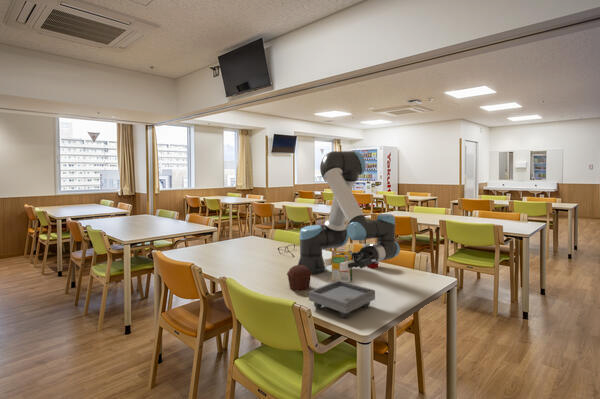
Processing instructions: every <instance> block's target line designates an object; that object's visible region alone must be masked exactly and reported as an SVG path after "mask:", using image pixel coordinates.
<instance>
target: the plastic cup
mask: <svg viewBox="0 0 600 399" xmlns="http://www.w3.org/2000/svg"><path fill="white" fill-rule="evenodd" d="M373 244H374V243H363V244H362V247H365V246H369V245H373ZM366 267H367V268H369V269H377V268H378V267H379V262H377V263H375V264H370V265H368V266H366Z"/></svg>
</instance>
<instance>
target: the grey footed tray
mask: <svg viewBox="0 0 600 399" xmlns="http://www.w3.org/2000/svg"><path fill="white" fill-rule="evenodd" d="M375 299H376V290H375V289H371V288H368V287H364V286H360V285H357V284H353V283H351V282H343V281H335V280H334V281H333V282H331V283H328V284H325V285H322V286H320V287H317V288H314V289H312V290H310V291H308V301H310V302H312V303H313V306H314V308H316V309H321V308H322V307H323V306H324V307H326V308H330V309H333V310H334V311H338V312H340V317H341V318H344V319H348V318H349V316H350V312H352V311H354V310H356V309H358V308H360V307H363V308H369V307H370V305H371V304H370V303H371V302H373V301H375ZM320 307H321V308H320ZM347 317H348V318H347Z"/></svg>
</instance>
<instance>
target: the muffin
mask: <svg viewBox="0 0 600 399" xmlns="http://www.w3.org/2000/svg"><path fill="white" fill-rule="evenodd" d="M286 275H287V279H288V284H289V289H290V290H292V291H295V292H296V291H297V292H302V291H303V292H304V291H307V290H309V289H310V285H311V277H312V275H313V274H312V273H311V271H310V270H309V269H308V268H307V267H305V266H303V265H298V264H297V265H293V266H292V267H290V268H289V269H288V271H287V273H286Z"/></svg>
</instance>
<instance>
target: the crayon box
mask: <svg viewBox="0 0 600 399" xmlns="http://www.w3.org/2000/svg"><path fill="white" fill-rule="evenodd" d="M339 253H344V254H345V255H339ZM331 257H332V265H331V280H332V281H333V282H335V281H343V282H346V283H351V282H352V281H353V268H350V269H347V270H343V271H340V263H343V262H347V261H350V260H352V255H350V252H348V251H338V250H331Z"/></svg>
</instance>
